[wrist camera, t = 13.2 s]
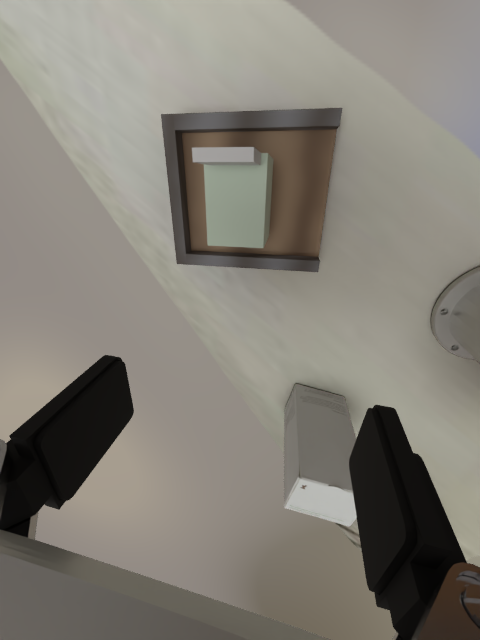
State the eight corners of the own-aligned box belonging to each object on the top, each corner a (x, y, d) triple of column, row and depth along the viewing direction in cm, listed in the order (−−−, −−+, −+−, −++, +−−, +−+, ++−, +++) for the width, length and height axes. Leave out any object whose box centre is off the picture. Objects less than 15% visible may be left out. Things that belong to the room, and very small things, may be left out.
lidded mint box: (274, 160, 26) (262, 146, 16) (270, 233, 29) (257, 260, 19) (224, 160, 27) (184, 147, 17) (225, 232, 30) (192, 256, 20)
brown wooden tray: (334, 119, 26) (342, 107, 22) (315, 260, 33) (318, 272, 28) (180, 124, 29) (161, 114, 24) (191, 254, 35) (177, 263, 31)
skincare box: (283, 408, 45) (278, 508, 31) (295, 379, 41) (296, 476, 28) (332, 423, 44) (349, 530, 31) (348, 395, 41) (375, 501, 27)
